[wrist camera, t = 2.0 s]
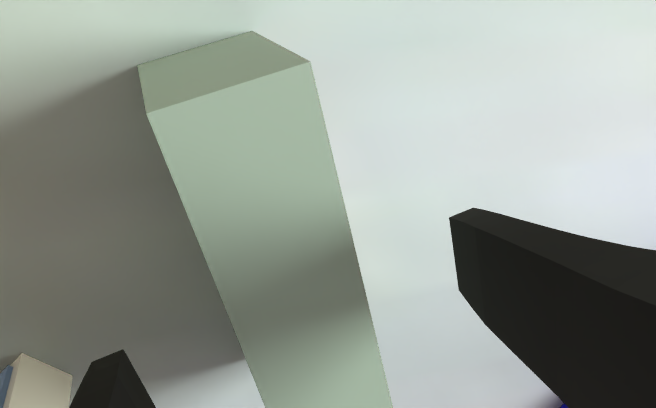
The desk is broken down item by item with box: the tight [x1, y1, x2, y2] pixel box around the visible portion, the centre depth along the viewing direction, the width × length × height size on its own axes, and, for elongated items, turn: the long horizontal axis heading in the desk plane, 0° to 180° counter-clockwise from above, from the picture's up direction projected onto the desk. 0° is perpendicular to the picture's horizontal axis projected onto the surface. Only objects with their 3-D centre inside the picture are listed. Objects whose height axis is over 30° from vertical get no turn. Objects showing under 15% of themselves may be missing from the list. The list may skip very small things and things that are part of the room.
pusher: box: [137, 31, 393, 408], centre depth 14 cm, size 10×3×5 cm, turn 14°
